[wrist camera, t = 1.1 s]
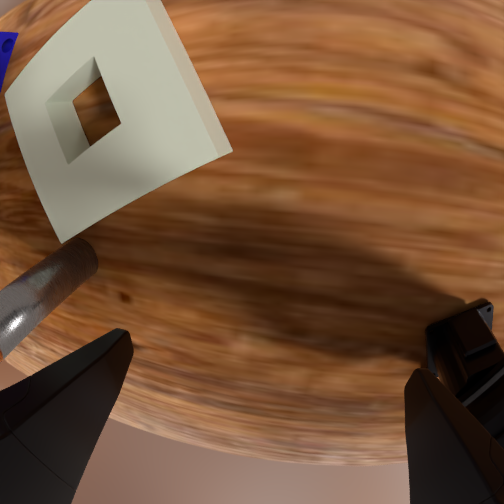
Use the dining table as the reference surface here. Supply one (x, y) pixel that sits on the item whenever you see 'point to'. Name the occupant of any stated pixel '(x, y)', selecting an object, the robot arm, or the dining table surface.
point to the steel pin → (42, 291)
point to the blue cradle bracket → (5, 52)
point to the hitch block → (126, 105)
